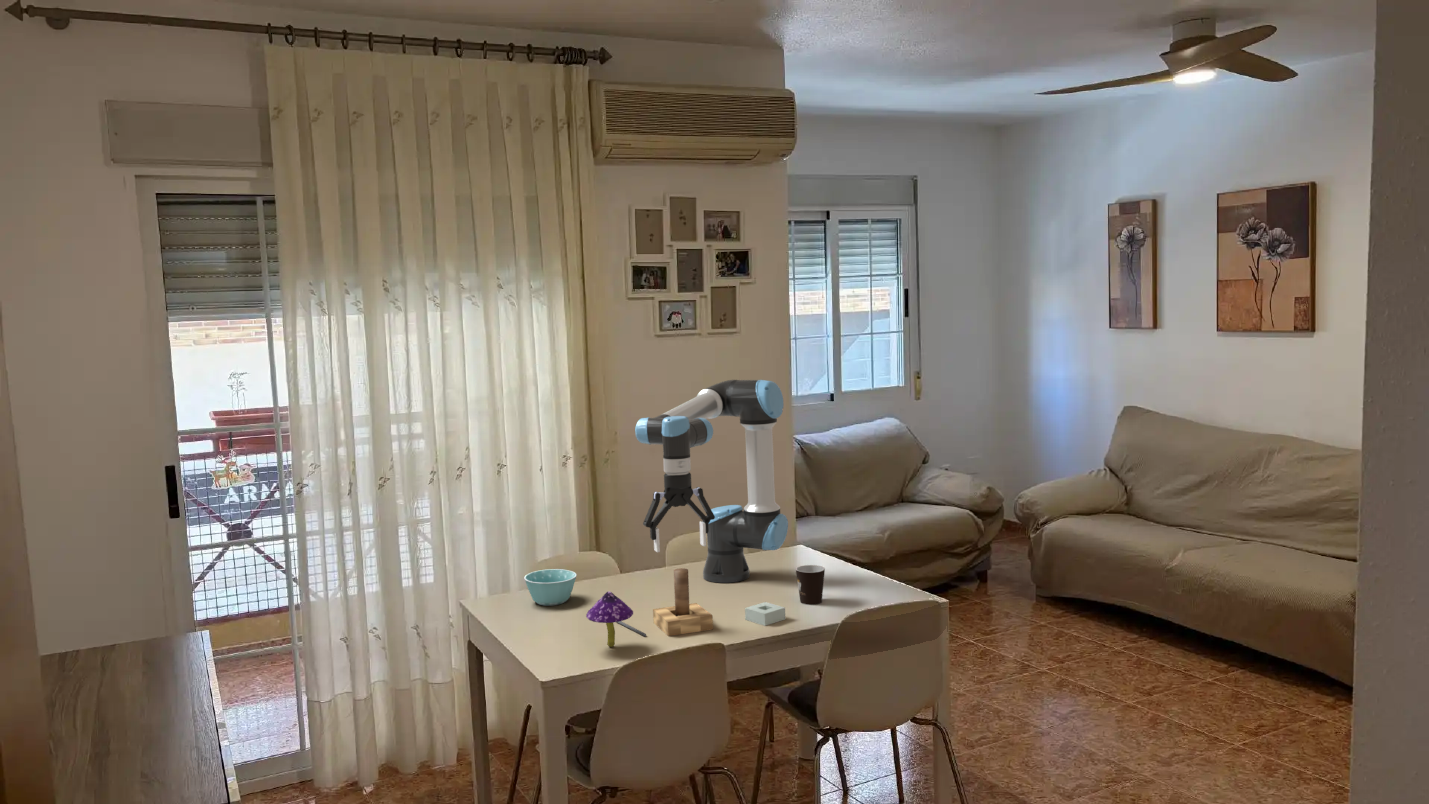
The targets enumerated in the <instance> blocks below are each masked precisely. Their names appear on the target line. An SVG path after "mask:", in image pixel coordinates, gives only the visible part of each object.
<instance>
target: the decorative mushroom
mask: <svg viewBox="0 0 1429 804" xmlns="http://www.w3.org/2000/svg"><path fill="white" fill-rule="evenodd" d="M585 615H586V616H585V617H586V618H587V619H588V620H589V621H591V622H593V623H599V624H600V623H601V624H605V625H606V629H607V646H608V647H610V648H612V647H614V646H615V645H616V644H615V641H616V629H615V624H614V623H617V622H619V621H622V622H623V621H626V620H629V619H630V618H631V617H632V616H633V615H634V611H633V609H632V608H631V607H630V606H628V605H627V604H626V602H624V601H623V600H622V599H621V598H619V597H618V596H616V595H615V593H613V592H612V591H606V592H605V593H604V594H603V595H602V597H600V598H599V599H598V600H597V601H595V603H594V604H593V606H591V608H590V609H589V610H588V611H587V613H586V614H585Z"/></svg>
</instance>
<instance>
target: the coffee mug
mask: <svg viewBox="0 0 1429 804" xmlns="http://www.w3.org/2000/svg"><path fill="white" fill-rule="evenodd" d="M825 570H826V568H825V567H823V565H822V566H821V565H817V564H805V565H798V566H796V567H795V574H796V581H797V588H798V594H799V602H800V603H801V604H802V605H811V606H814V605H819V604H822V602H823V593H824V592H823V591H824V580H825Z"/></svg>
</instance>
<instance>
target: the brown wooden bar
mask: <svg viewBox="0 0 1429 804" xmlns="http://www.w3.org/2000/svg"><path fill="white" fill-rule="evenodd" d="M689 584H690V582H689V569H688V568H685V567H684V568H683V567H682V568H681V567H680V568H675V569H673V585H674V606H675V616H682V615H689V614H690V608H689V604H690V586H689Z"/></svg>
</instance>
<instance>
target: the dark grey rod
mask: <svg viewBox="0 0 1429 804" xmlns="http://www.w3.org/2000/svg"><path fill="white" fill-rule="evenodd" d="M616 623H618V624H619V625H621V626H623V627H625V628H627V629H629V630H631V631H633V632H635V633H636V634H638V635H641V636H643V637H647V634H646V633H645V632H643V631H641V630H639V629H637V628H635V627H633V626H631V625H630V624H627V623H625V622H623V621H619V622H616Z"/></svg>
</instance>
